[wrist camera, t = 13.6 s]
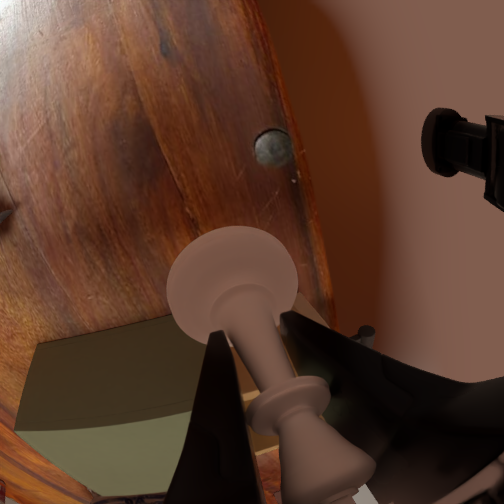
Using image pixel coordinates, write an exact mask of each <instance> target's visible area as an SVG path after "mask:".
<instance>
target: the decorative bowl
mask: <svg viewBox="0 0 504 504" xmlns="http://www.w3.org/2000/svg"><path fill="white" fill-rule="evenodd" d="M87 489H88V490H89V491H90V492H91V494H92V496H93V499H92V501H91V502H90V504H162V503H163V501H164V498H165V496H166V493H167V491H166V492H159V493H150V494H139V495H124V496H101V495H99V494H98V493H96V492H94V491H93V490H91V489H89V488H88V487H87Z"/></svg>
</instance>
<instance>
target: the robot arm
mask: <svg viewBox="0 0 504 504" xmlns="http://www.w3.org/2000/svg"><path fill="white" fill-rule="evenodd" d="M485 120H486V126H485V125H480V124H475V123H470V122H468V120H467V118H464V117H458V116H450V115H442V114H437V115H436V156H435V171H436V172H437V173H448V172H456V171H461V172H464V173H467V174H470V175H472V176H475V177H478V178H481V179H484V180H486V183H485V193H484V199H486V200H487V201H489V202H490V203H491V204H492V205H494V206H496V207H497V208H498V209H500V210H501V211H503V212H504V116H500V115H499V116H498V115H485ZM279 320H280V334H281V338H282V341H283V343H284V345H285V348H286V350H287V352H288V354H289V357H290V359H291V361H292V363H293V366H294V368H295V370H296V372H297V375H298V377H300V376H317V377H320V378H323V379H324V380H325V381H326V382H327V383H328V385H329V391H330V393H331V400H330V403H329V405H328V406H327V408H326V409H325V411H324V412H323V413H322V414H321V415H322V416H323V418H324V420H325V421H326V423H327V424H329V425H330V426H332V427H333V428H334V429H336V430H337V431H338V432H339V434H340V435H342V436H343V437H344V438H345V439H347V440H348V441H349V442H350V443H352V444H353V445H355V446H356V447H358V448H360V449H361V450H363V451H364V452H365V453H367V454H368V455H369V456H370V457H371V458H372V459H373V460H374V461H375V462H376V469H375V472H374V474H373V475H372V477H371V478H370V479H369V480H368V481H367V482H366V483H365V484H366V485H367V487H368V488H369V490H370V491H371V493H372V494H373V496H374V497H375V499H376V500H377V502H378V503H379V504H389V503H391V502H393V503H394V504H504V376H503V377H499V378H495V379H491V380H486V381H481V382H477V383H465V382H459V381H455V380H451V379H449V378H445V377H442V376H439V375H436V374H433V373H430V372H426V371H424V370H420V369H418V368H415V367H412V366H410V365H407V364H404V363H402V362H400V361H398V360H395V359H393V358H391V357H389V356H386V355H384V354H382V355H381V353H380V352H378V351H376V350H373V349H371V348H369V347H367V346H365V345H363V344H361V343H359V342H357V341H355V340H352V339H350V338H348V337H346V336H344V335H342V334H340V333H338V332H336V331H334V330H332V329H330V328H328V327H326V326H324V325H322V324H320V323H318V322H316V321H314V320H312V319H310V318H308V317H306V316H304V315H302V314H300V313H298V312H296V311H294V310H289V311H286V312H283V313H281V314H280V316H279ZM245 413H246V408H245V404H244V399H243V395H242V391H241V386H240V382H239V378H238V373H237V369H236V364H235V360H234V356H233V353H232V351H231V348H230V346H229V343H228V341H227V338H226V336H225V333H224V331H223V330H218V331H214V332H211V333H210V334H209V338H208V342H207V346H206V350H205V355H204V359H203V363H202V368H201V372H200V376H199V381H198V385H197V389H196V394H195V398H194V403H193V407H192V412H191V416H190V422H189V425H188V430H187V434H186V438H185V442H184V446H183V449H182V452H181V455H180V458H179V461H178V464H177V467H176V469H175V472H174V475H173V477H172V480H171V483H170V485H169V488H168V490H167V493H166V496H165V498H164V501H163V503H162V504H267V503H266V499H265V495H264V490H263V486H262V482H261V478H260V473H259V469H258V464H257V460H256V455H255V451H254V446H253V442H252V437H251V432H250V428H249V425H248V423H247V420H246V415H245Z"/></svg>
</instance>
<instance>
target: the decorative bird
mask: <svg viewBox="0 0 504 504" xmlns="http://www.w3.org/2000/svg"><path fill="white" fill-rule="evenodd" d="M12 212H13V209H11V210H6V211H3V212H1V213H0V223H1V222H2V221H3V220H4V219H5V218H6V217H8V216H9V215H10V214H11V213H12Z"/></svg>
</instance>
